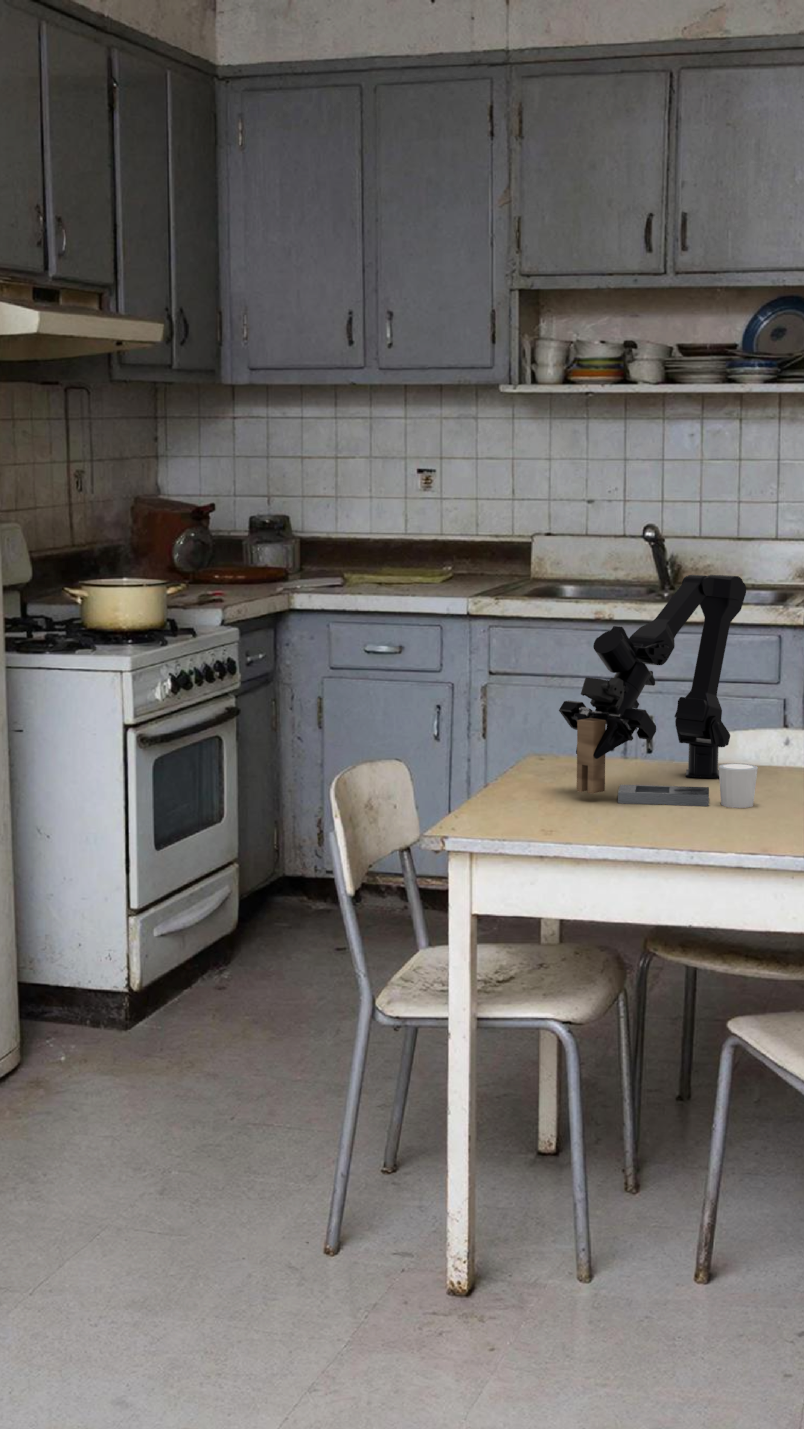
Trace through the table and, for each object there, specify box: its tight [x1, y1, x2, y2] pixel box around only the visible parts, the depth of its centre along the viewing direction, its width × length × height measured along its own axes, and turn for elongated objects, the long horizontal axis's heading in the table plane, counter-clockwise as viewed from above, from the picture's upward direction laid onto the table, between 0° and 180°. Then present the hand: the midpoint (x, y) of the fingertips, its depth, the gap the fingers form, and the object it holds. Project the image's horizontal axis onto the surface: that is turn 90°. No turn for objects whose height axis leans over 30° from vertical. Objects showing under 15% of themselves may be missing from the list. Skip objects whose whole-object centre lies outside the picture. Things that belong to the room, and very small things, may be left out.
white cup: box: [718, 762, 758, 809], centre depth 299 cm, size 7×7×7 cm
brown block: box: [576, 718, 607, 795], centre depth 302 cm, size 4×4×13 cm
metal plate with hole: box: [617, 784, 710, 807], centre depth 303 cm, size 8×16×2 cm, turn 80°
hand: (586, 756), depth 301 cm, fingers closed on brown block, 4 cm apart
